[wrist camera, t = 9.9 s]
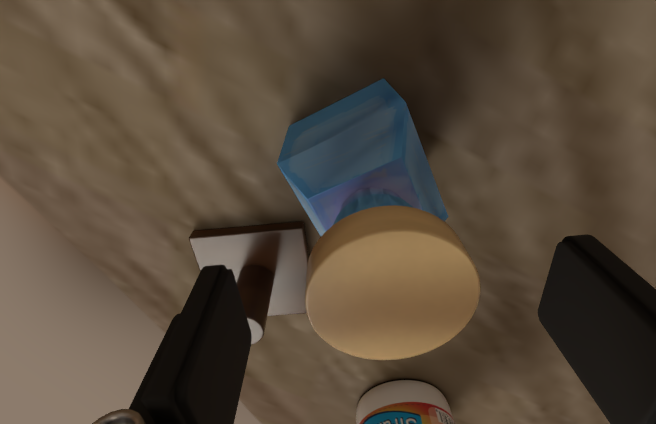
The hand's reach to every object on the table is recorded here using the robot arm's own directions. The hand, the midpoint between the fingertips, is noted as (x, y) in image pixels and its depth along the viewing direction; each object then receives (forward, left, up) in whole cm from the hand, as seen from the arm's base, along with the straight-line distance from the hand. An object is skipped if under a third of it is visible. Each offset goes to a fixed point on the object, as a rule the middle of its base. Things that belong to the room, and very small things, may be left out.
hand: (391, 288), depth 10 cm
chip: (0, 0, -1) cm, 1 cm away
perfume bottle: (0, 0, -13) cm, 13 cm away
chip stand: (+9, -8, -13) cm, 18 cm away
